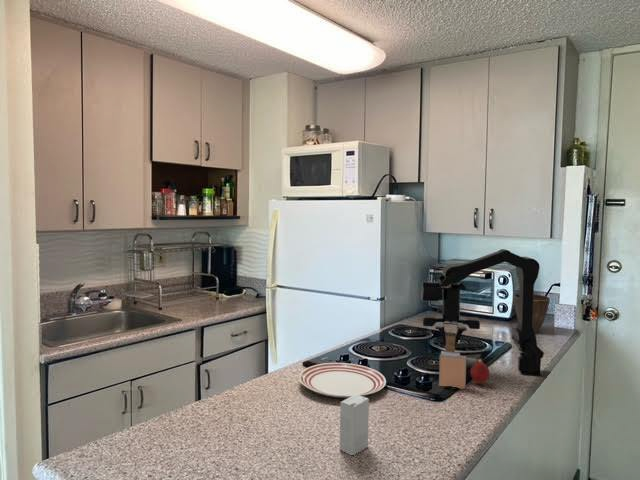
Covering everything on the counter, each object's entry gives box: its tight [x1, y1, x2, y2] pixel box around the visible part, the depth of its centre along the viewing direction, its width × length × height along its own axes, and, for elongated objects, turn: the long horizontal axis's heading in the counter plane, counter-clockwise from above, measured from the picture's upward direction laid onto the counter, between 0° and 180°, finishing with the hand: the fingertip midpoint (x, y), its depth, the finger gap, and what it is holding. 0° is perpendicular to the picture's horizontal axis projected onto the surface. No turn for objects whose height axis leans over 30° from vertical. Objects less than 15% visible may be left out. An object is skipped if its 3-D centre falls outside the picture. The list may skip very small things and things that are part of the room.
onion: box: [470, 359, 490, 385], centre depth 154 cm, size 6×6×8 cm
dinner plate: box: [298, 362, 387, 399], centre depth 152 cm, size 27×27×3 cm
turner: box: [440, 331, 461, 356], centre depth 161 cm, size 15×6×6 cm, turn 168°
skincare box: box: [339, 395, 370, 456], centre depth 112 cm, size 6×4×12 cm
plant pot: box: [513, 293, 551, 334], centre depth 218 cm, size 15×15×16 cm
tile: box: [438, 353, 468, 390], centre depth 151 cm, size 2×8×10 cm, turn 78°
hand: (450, 346), depth 166 cm, fingers closed on turner, 3 cm apart
